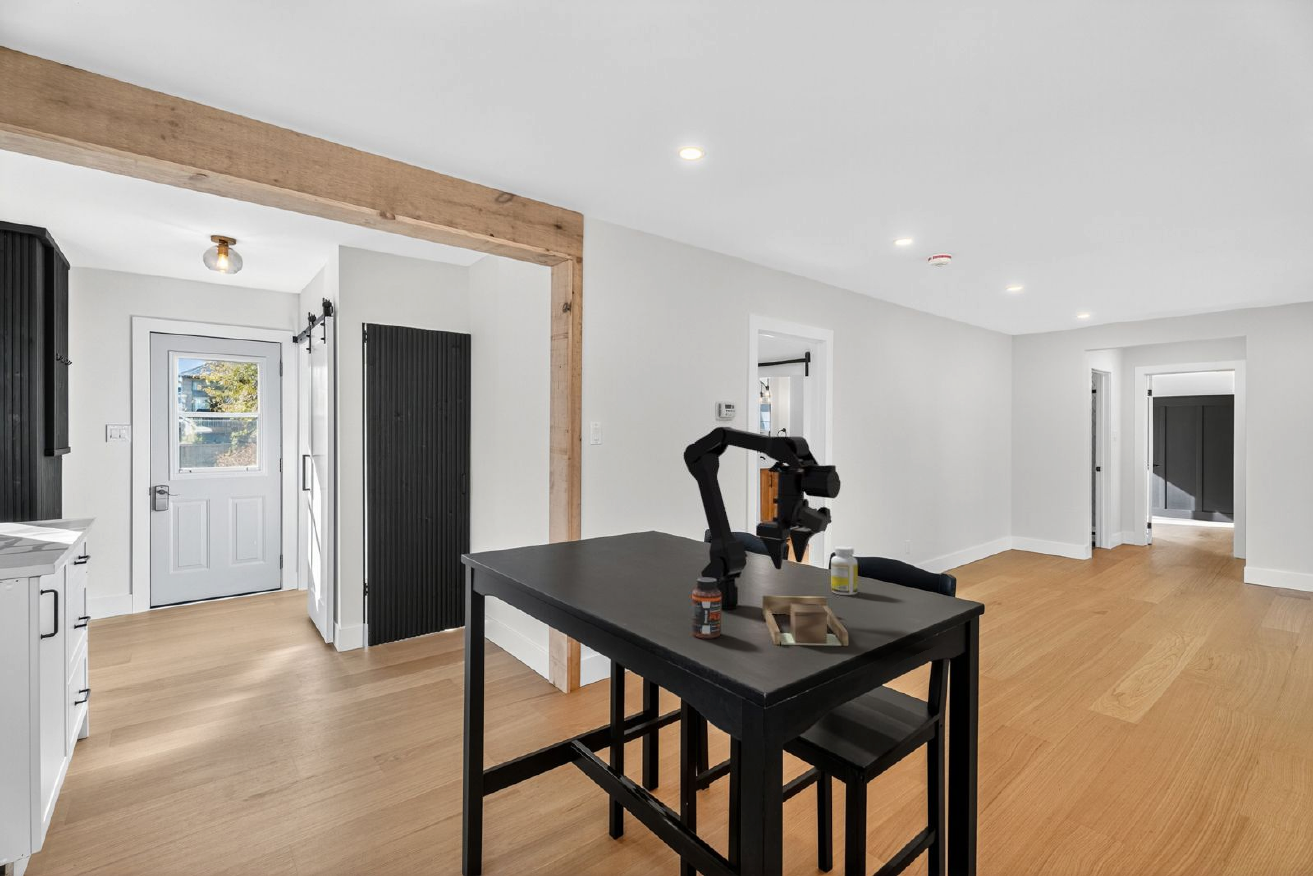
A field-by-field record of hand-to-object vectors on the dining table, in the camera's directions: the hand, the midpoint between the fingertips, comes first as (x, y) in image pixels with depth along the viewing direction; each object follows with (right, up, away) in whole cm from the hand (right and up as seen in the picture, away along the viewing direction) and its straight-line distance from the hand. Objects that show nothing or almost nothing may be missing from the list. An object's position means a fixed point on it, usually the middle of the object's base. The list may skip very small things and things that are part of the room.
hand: (788, 565), depth 135 cm
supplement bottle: (-19, -12, -9) cm, 24 cm away
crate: (+1, -12, -12) cm, 17 cm away
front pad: (+1, -12, -12) cm, 17 cm away
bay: (+2, -12, -5) cm, 13 cm away
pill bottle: (+19, -12, +24) cm, 34 cm away
